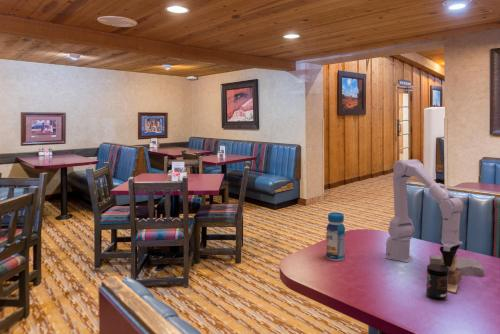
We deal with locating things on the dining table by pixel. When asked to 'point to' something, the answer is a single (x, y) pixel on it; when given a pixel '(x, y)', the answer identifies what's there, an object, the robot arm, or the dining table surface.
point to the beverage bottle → (335, 237)
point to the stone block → (469, 267)
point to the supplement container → (437, 281)
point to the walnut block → (454, 277)
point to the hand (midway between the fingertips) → (448, 264)
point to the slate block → (435, 259)
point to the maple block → (452, 263)
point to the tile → (453, 288)
